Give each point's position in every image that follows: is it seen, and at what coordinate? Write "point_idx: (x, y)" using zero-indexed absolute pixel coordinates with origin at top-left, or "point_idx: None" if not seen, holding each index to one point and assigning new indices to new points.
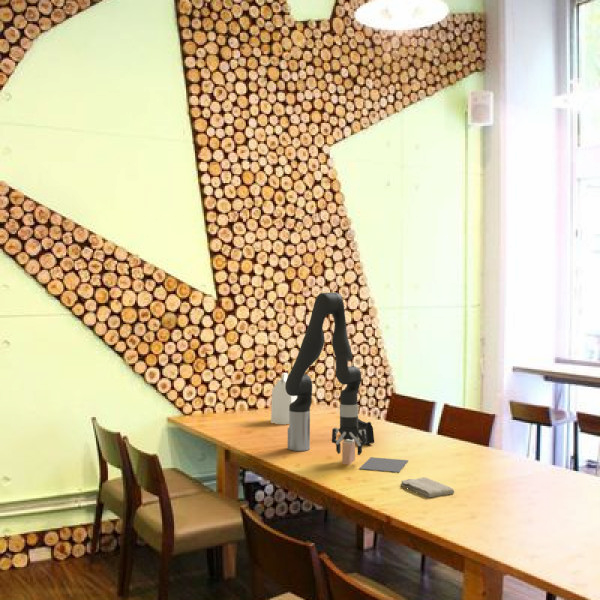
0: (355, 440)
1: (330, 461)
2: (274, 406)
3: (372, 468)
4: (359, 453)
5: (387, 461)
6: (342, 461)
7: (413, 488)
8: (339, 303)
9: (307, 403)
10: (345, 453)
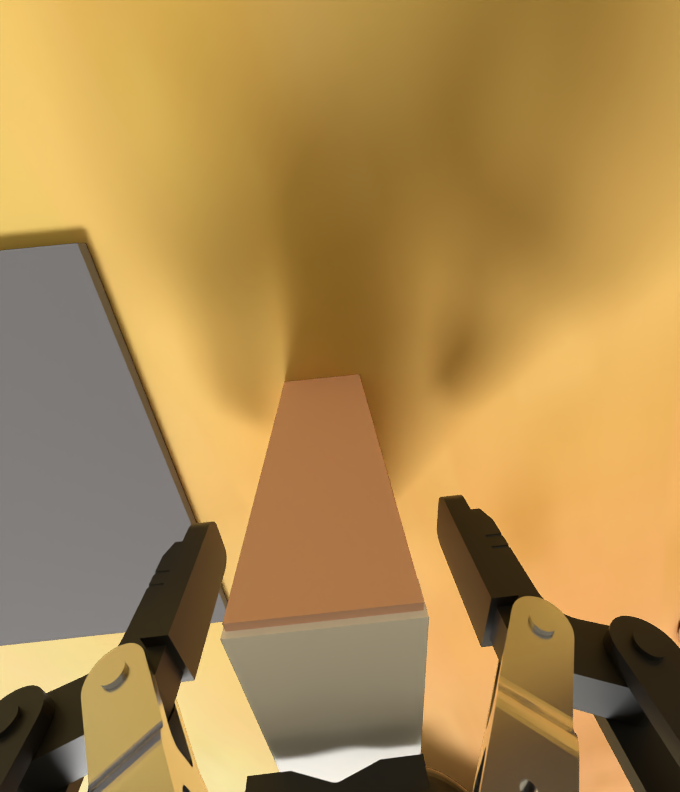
0: (138, 776)
1: (496, 428)
2: None
3: None
4: (187, 542)
5: (45, 580)
6: (360, 387)
7: None
8: None
9: None
10: (328, 443)
